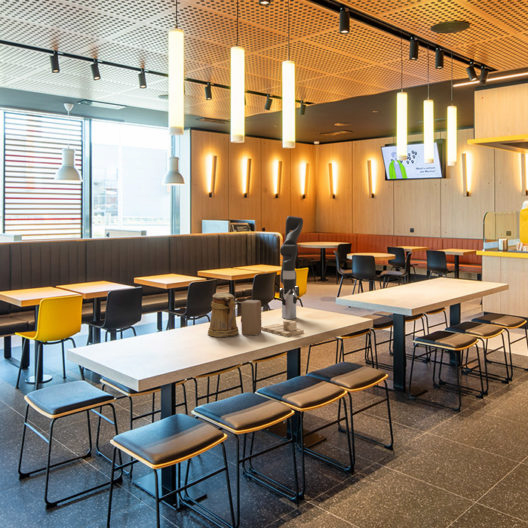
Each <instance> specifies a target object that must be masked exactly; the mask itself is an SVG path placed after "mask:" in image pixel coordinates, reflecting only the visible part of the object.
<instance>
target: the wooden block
mask: <svg viewBox="0 0 528 528" xmlns="http://www.w3.org/2000/svg"><path fill="white" fill-rule="evenodd" d="M240 323H241V327H240V328H241V335H245V336H257V335H259V334H261V333H262V330H261V327H262V301H261V300H258V299H246V300H244V301H241V303H240Z"/></svg>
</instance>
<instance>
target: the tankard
mask: <svg viewBox="0 0 528 528" xmlns="http://www.w3.org/2000/svg"><path fill="white" fill-rule="evenodd" d="M235 301H236V298H235V296H234V295H233V294H231V293H229V292H216V293H214V294H213V295H212V301H211V304H210V305H211V314H210V315H211V316H210V322H209V327H208V330H207V335H208V336H210V337H214V338H228V337H234V336H237V335H239V326H238V324H237V318H236V310H235V309H236V307H237V306H236V302H235Z"/></svg>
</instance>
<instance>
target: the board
mask: <svg viewBox="0 0 528 528" xmlns="http://www.w3.org/2000/svg"><path fill="white" fill-rule="evenodd" d="M261 331H264V332H268V333H270V332H271V334H274V333H276V334H275V335H278V334H280V335H279V336H282V335H283V336H282V337H285V336H288V337H292V335H293V336H297V335H301V333H302V334H304V333H305V331H304V329H302V328H297V331H293V332H290V331H286V330H283V324H282V323H275V324H270V325H264V326H261ZM296 334H297V335H296Z"/></svg>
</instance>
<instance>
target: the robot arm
mask: <svg viewBox="0 0 528 528" xmlns="http://www.w3.org/2000/svg"><path fill="white" fill-rule="evenodd" d="M303 225H304V219H303V218H302V217H300V216H293V215H287V217H286V219H285V233H284V242H283V243H282V244H281V246H280V249H279V253H280V255H281V256H282V265H281V270H280V274H279V275H280V276H279V277H280V278H279V279H280V280H279V281H280V283H281V284H282V286H283V288H279V289H278V290H279V291H278V293H279V295H278V298H279V299H281V318H283V319H284V318H285V319H286V320H294V319H297V302H298V297H300V286H298V285H297V271H296V260H297V259H296V258H297V256H298V250H299V249H298V244H297V243H298V238H299V236H300V234H301V232H302V230H303Z"/></svg>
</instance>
